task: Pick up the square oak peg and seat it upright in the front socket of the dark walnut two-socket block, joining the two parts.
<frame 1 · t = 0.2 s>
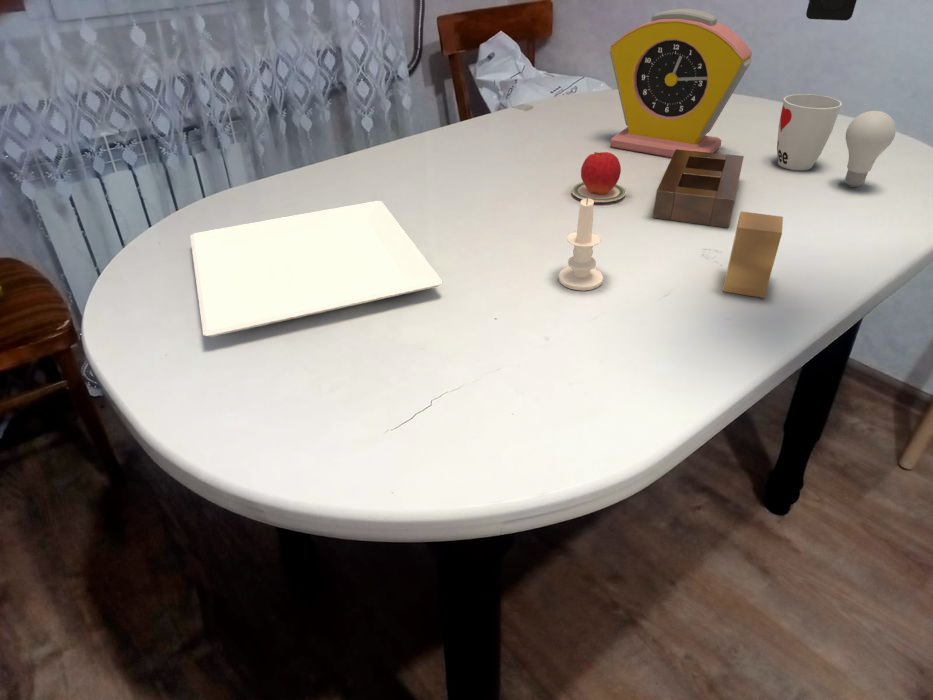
hand: (825, 9, 54), 29 cm above the table, tool pointing down, fingers open, 9 cm apart
peg: (744, 285, 76), on the table
plate: (310, 271, 82), on the table
cup: (794, 166, 106), on the table
candle: (580, 281, 78), on the table
alarm clock: (664, 148, 115), on the table
holder: (697, 198, 96), on the table
apple: (598, 195, 99), on the table
lightbulb: (852, 188, 98), on the table
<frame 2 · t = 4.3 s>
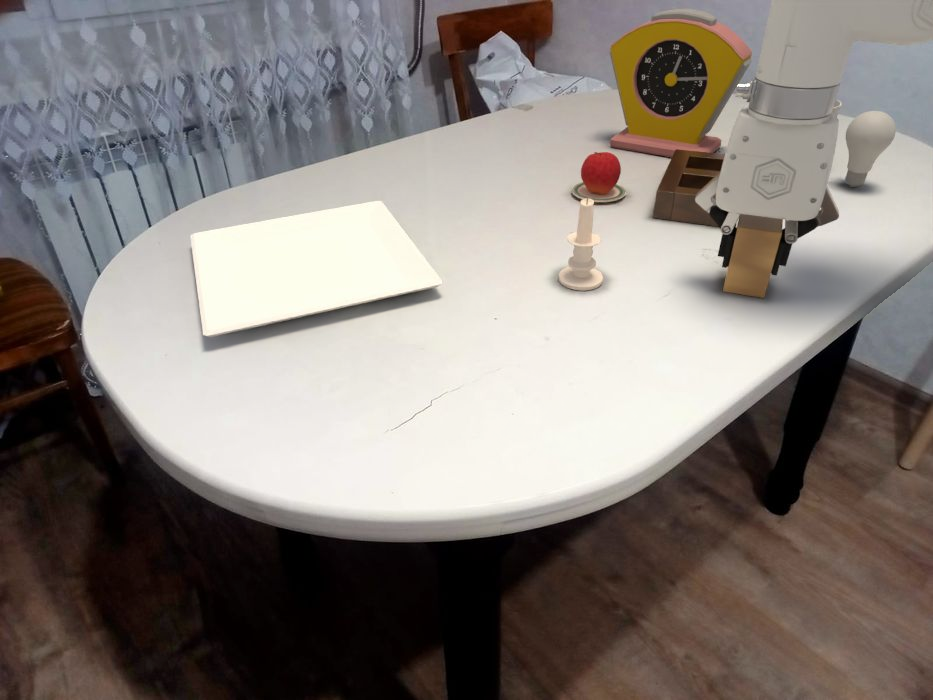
hand: (749, 264, 74), 3 cm above the table, tool pointing down, fingers closed on peg, 4 cm apart
peg: (744, 285, 76), on the table, touching gripper
everything else where it was.
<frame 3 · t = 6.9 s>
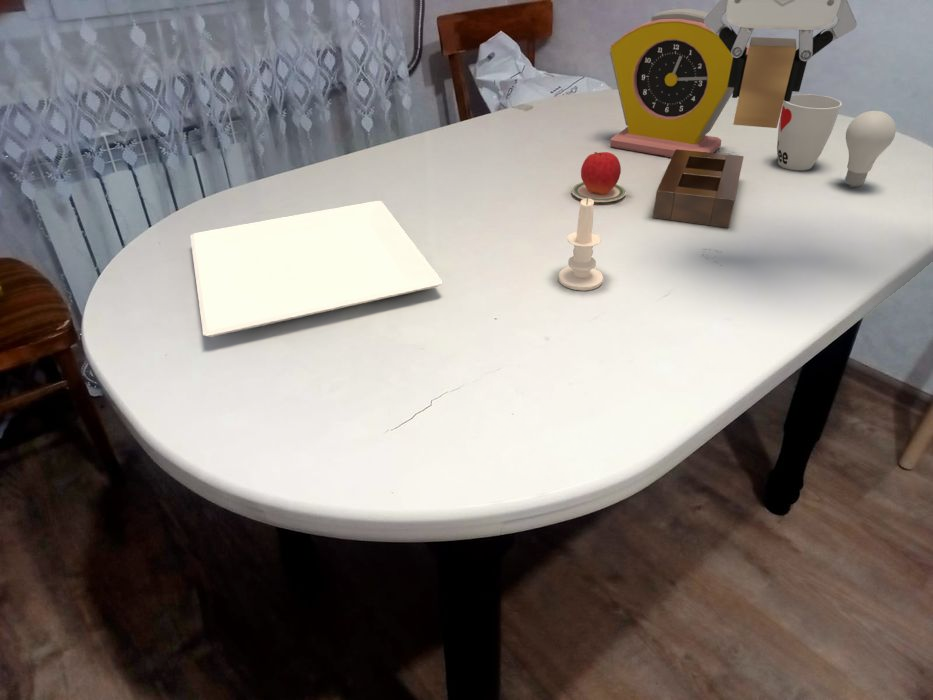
hand: (761, 94, 71), 19 cm above the table, tool pointing down, fingers closed on peg, 4 cm apart
peg: (755, 120, 72), point 17 cm above the table, touching gripper
everything else where it was.
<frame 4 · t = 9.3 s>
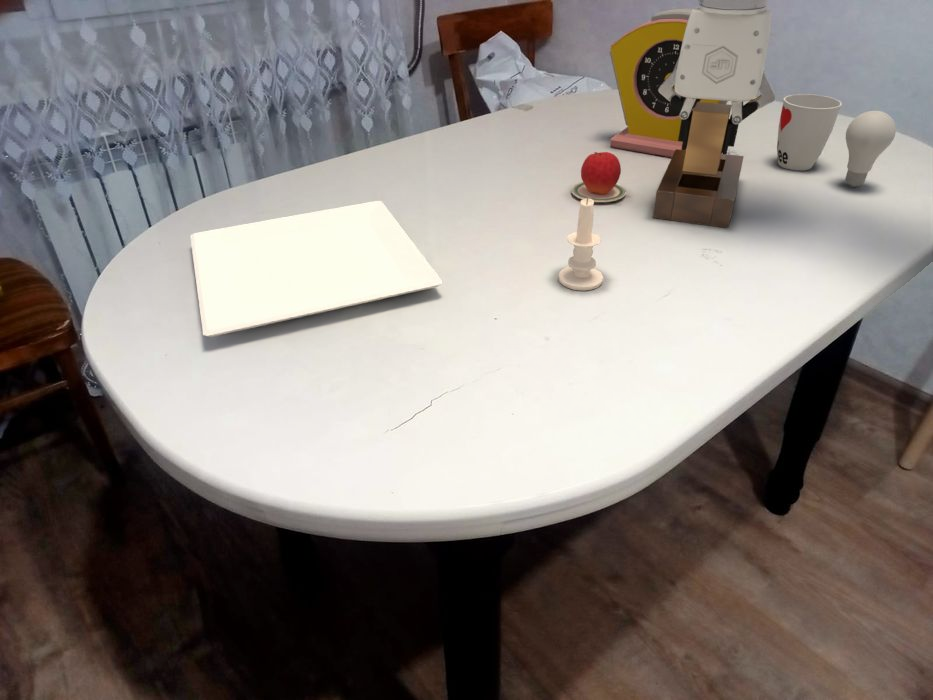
hand: (705, 147, 88), 9 cm above the table, tool pointing down, fingers closed on peg, 4 cm apart
peg: (701, 167, 90), point 6 cm above the table, touching gripper
everything else where it was.
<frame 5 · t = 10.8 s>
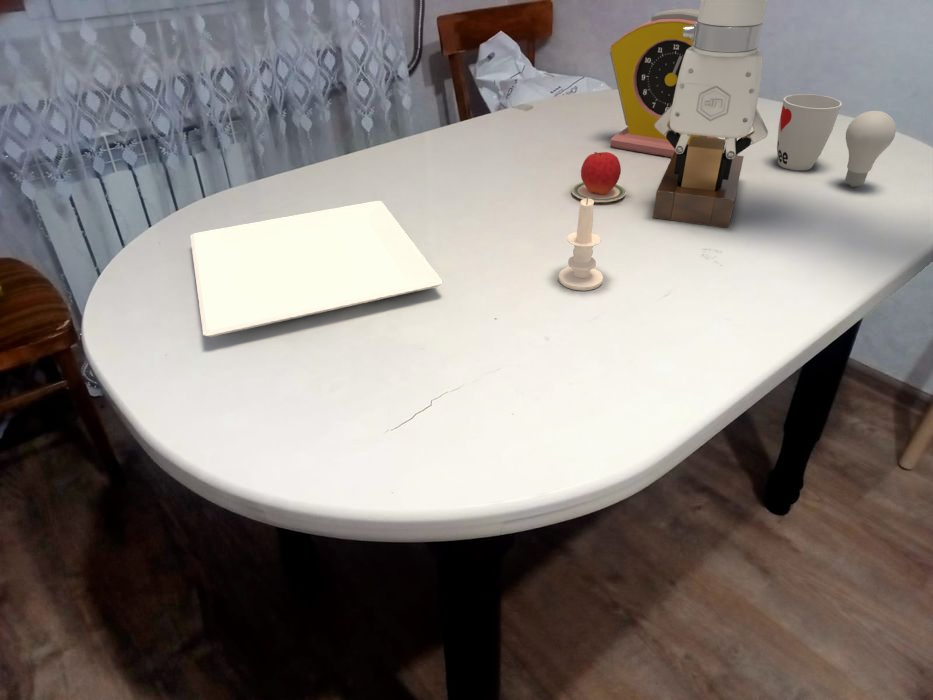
hand: (700, 180, 91), 4 cm above the table, tool pointing down, fingers closed on peg, 4 cm apart
peg: (696, 199, 92), point 1 cm above the table, touching gripper
everything else where it was.
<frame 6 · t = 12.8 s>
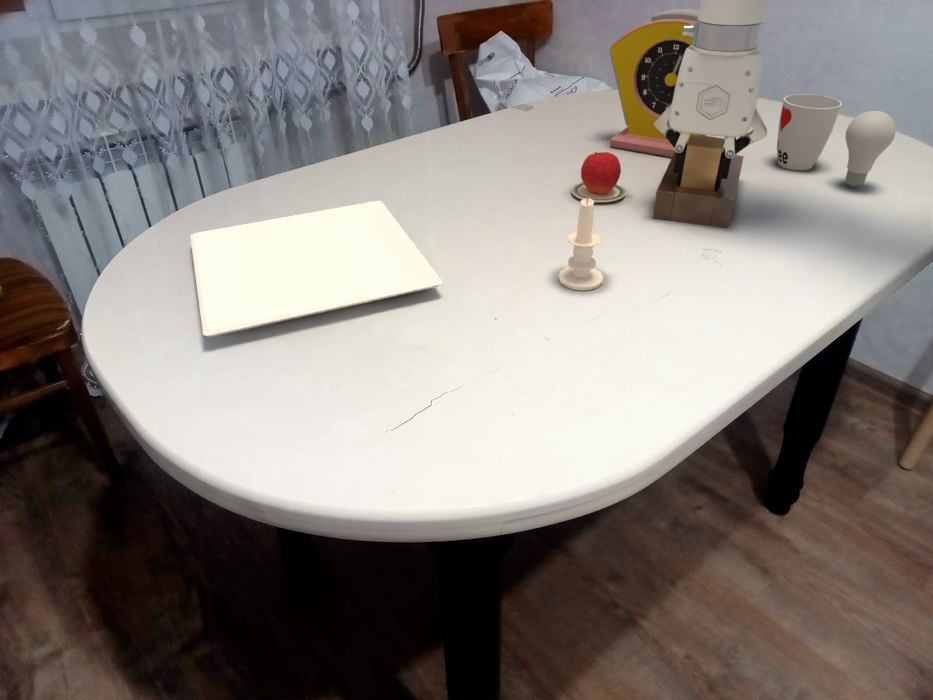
hand: (699, 179, 91), 4 cm above the table, tool pointing down, fingers closed on peg, 4 cm apart
peg: (695, 198, 92), point 2 cm above the table, touching gripper
everything else where it was.
when the fingers open (5 cm above the table, at t = 14.7 s): peg drops 2 cm, resting in holder.
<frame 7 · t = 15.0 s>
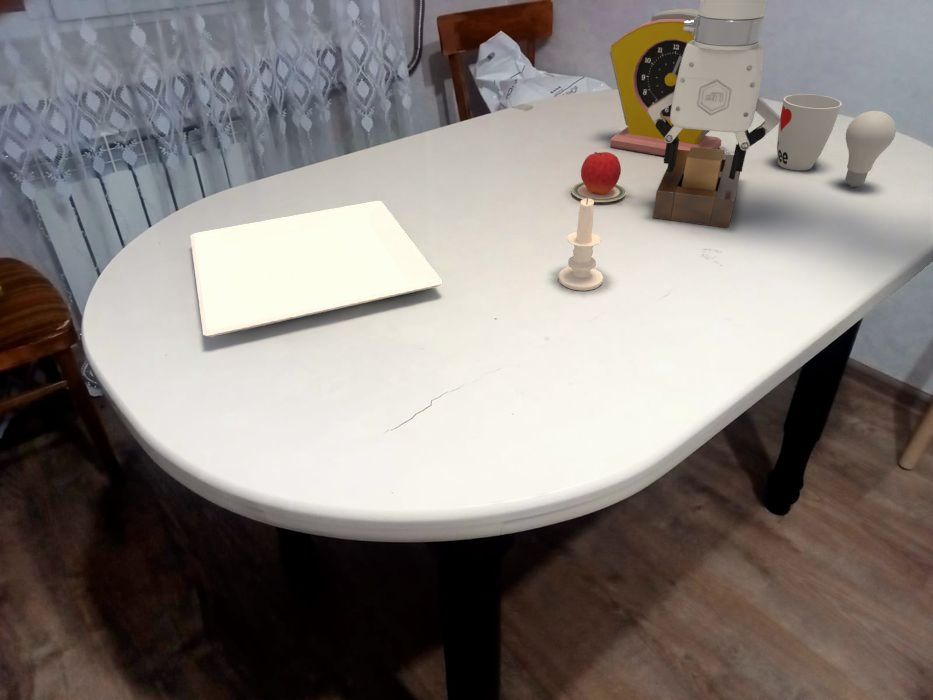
hand: (701, 171, 90), 5 cm above the table, tool pointing down, fingers open, 7 cm apart
peg: (695, 209, 93), resting in holder
everything else where it was.
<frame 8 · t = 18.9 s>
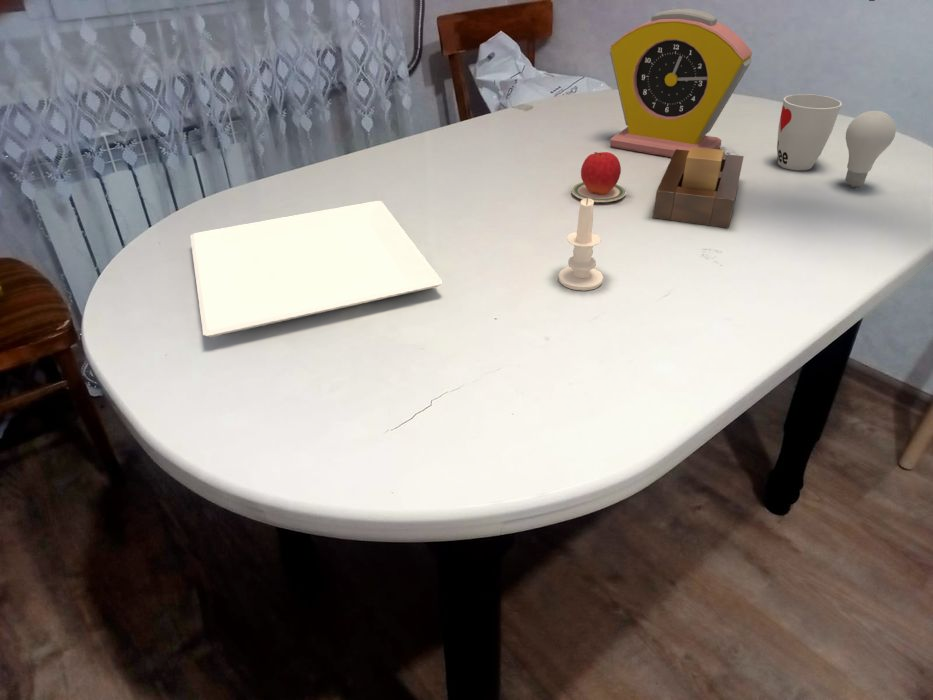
nothing on the table moved.
at the end: peg 0.1 cm from the target spot in the holder, point 0.0 cm above the holder's base; peg tilted 0°; the gripper is holding nothing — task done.
